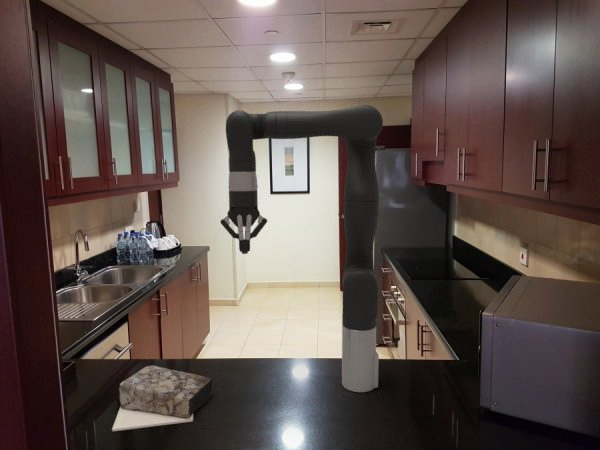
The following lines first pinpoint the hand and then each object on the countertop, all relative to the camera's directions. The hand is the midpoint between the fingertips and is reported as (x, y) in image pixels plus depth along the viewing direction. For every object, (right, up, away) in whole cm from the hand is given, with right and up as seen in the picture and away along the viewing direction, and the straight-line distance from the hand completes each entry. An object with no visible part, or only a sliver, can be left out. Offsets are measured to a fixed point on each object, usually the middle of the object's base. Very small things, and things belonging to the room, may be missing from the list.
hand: (244, 253), depth 116 cm
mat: (-21, -39, -10) cm, 45 cm away
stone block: (-9, -36, -8) cm, 38 cm away
